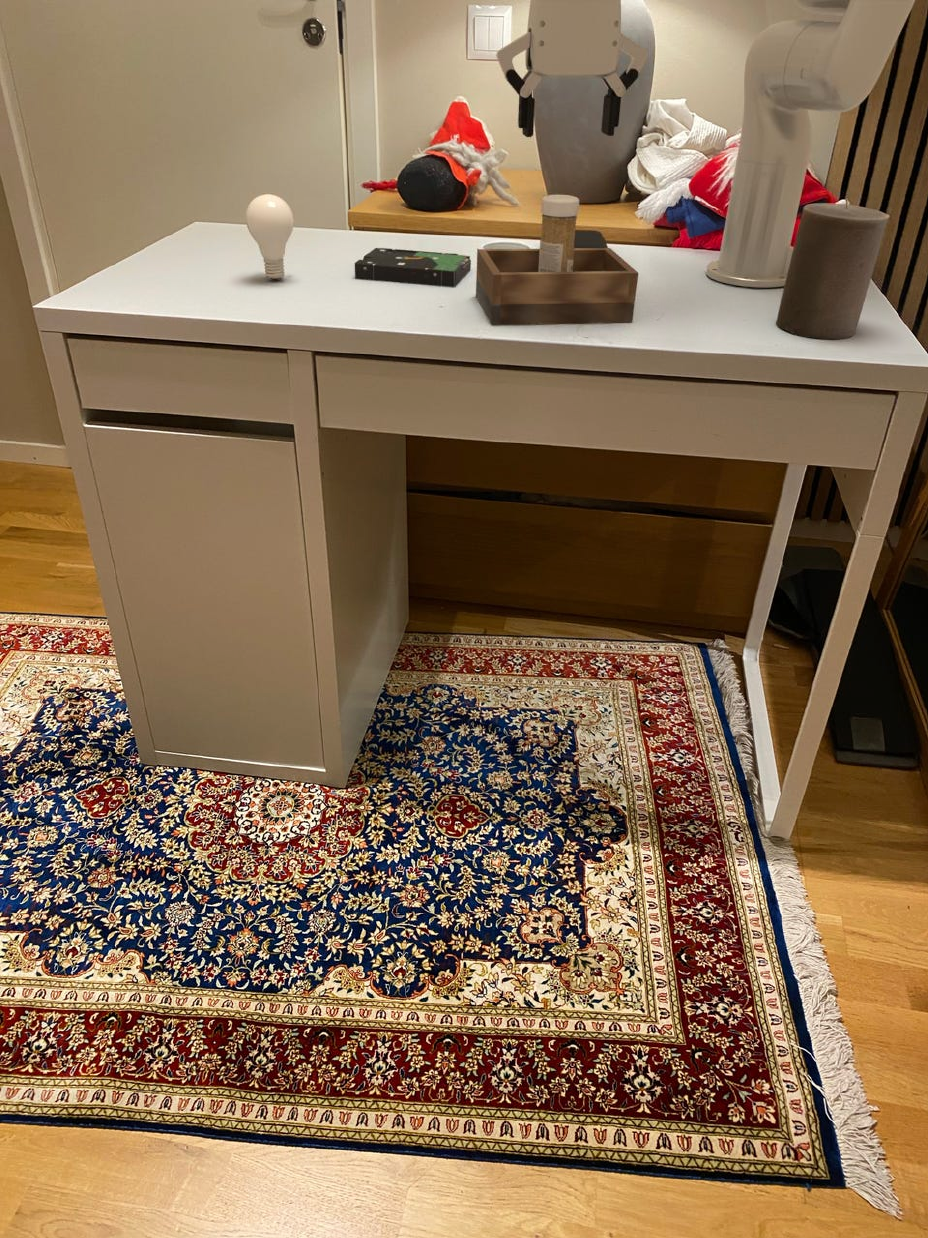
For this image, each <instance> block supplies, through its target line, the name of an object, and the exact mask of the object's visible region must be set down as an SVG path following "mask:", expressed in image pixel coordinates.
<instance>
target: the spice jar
mask: <svg viewBox="0 0 928 1238" xmlns="http://www.w3.org/2000/svg"><path fill="white" fill-rule="evenodd" d="M579 210H580V199H579V198H578V197H577V196H574V195H569V194H548V195H544V196H543V197H542V199H541V211H540V212H541V218H542V220H541V229H540V230H541V233H540V241H539V249H540V254H539V269H538V272H572V271H573V259H574V239H575V230H576V227H577V225H576V224H577V218H578V215H579V212H580V211H579Z"/></svg>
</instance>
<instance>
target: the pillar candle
mask: <svg viewBox="0 0 928 1238" xmlns="http://www.w3.org/2000/svg"><path fill="white" fill-rule="evenodd" d="M890 218H891V217H890V215H889V214H887V213H885V212H882V210H881V211H880V210H878V209H877V210H876V209H874V208H868V207H864V206H859V205H851V204H849V203H848V198H845V204H844V203H827V202H825V203H823V202H822V203H820V202H818V203H809V204H806V205H805V206H803V209H802V212H801V216H800V220H799V224H798V227H797V232H796V236H795V241H794V246H793V247H794V249H793V252H792V256H791V261H790V265H789V270H788V274H787V277H786V281H785V286H783V292H782V295H781V299H780V304H779V308H778V313H777V319H776V321H775V322H776V326H778V327H779V328H780V329H782V330H785V331H787V332H788V333H791V334H794V335H796V336H799V337H805V338H812V339H818V340H819V339H821V340H840V339H843V340H844V339H847V338H851V337H853V336H854V335H855V334H856V331H857V330H858V326H859V322H860V319H861V314H862V312H863V308H864V305H865V301H866V297H867V294H868V290H869V286H870V283H871V279H872V276H873V273H874V270H875V266H876V263H877V258H878V256H879V251H880V249H881V245H882V241H883V237H884V234H885V230H886V226H887V224H888V220H889V219H890Z"/></svg>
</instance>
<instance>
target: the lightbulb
mask: <svg viewBox="0 0 928 1238" xmlns="http://www.w3.org/2000/svg"><path fill="white" fill-rule="evenodd" d="M245 224H246V228H247V229H248V232H249V233H250V235H251V237H252V239H254V241H255V242H256V243H257V245H258V248H259V252H260V255H261V256H262V258H263V263H264V265H263V266H264V272H265V273H264V277H267V278H268V279H269V280H271V281H274V282H277V281H280V280H281V279H282V278H284V277H285V268H284V267H285V265H284V260H285V259H284V257H285V254H286V246H287V243H288V241H289V238H290V237H291V235H292V232H293V230H294V224H295V220H294V214H293V212H292V209H291V207H290V206H289V204H288V203H287V202H286V201H285V200H284V199H283V198H282V197H279V196H278V195H274V194H270V193H267V194H266V193H265V194H260V195H258V196H256V197H255V198H254V199H252V200H251V201H250V203H249V204H248V206H247V208H246V211H245Z"/></svg>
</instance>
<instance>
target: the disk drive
mask: <svg viewBox="0 0 928 1238" xmlns="http://www.w3.org/2000/svg"><path fill="white" fill-rule="evenodd" d="M471 264H472V260H471V256H470V255H465V254H463V255H462V254H458V253H447V252H445V253H444V252H436V251H423V250H421V251H420V250H418V251H417V250H413V249H408V250H407V249H397V248H387V247H375V248H374V249H372V250H371V251H369V252H368V253H366V254H365V255H364V256H363V259H358V260H356V261H355V262H354V279H356V280H362V281H363V280H365V281H376V282H387V283H399V284H411V285H412V284H413V285H423V286H424V285H425V286H435V287H445V288H447V287H448V288H456V287H457V286H458V285H459V284H460V283H461V282H462V280H463V279H464V278H465V277H466V275H468V273H469V272H470V271H471V267H472V266H471Z"/></svg>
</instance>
